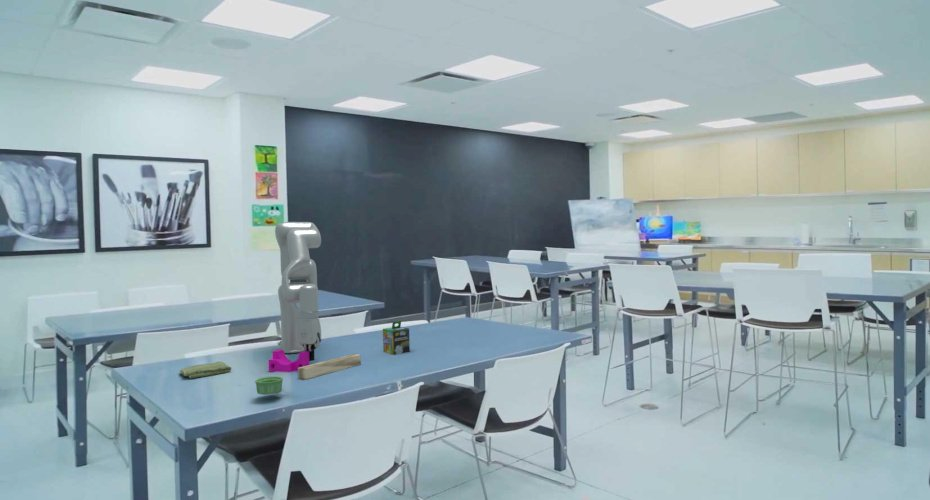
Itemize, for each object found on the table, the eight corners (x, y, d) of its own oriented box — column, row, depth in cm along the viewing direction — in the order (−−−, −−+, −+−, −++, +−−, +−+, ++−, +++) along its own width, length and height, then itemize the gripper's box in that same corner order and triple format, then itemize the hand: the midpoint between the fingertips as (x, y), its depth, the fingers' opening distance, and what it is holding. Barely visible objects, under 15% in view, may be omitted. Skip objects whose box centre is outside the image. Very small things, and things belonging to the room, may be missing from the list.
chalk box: (399, 350, 267) (398, 319, 267) (410, 353, 260) (409, 320, 260) (382, 353, 261) (381, 321, 261) (393, 356, 254) (392, 322, 254)
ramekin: (266, 388, 202) (266, 375, 202) (288, 389, 199) (288, 376, 199) (249, 394, 193) (249, 381, 193) (272, 396, 190) (272, 382, 190)
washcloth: (177, 374, 229) (177, 366, 229) (223, 367, 240) (223, 360, 240) (185, 380, 218) (184, 371, 218) (232, 372, 229) (232, 364, 229)
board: (298, 378, 215) (297, 367, 214) (353, 363, 240) (353, 353, 240) (305, 379, 212) (305, 369, 212) (360, 364, 238) (360, 354, 238)
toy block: (268, 371, 229) (268, 352, 229) (278, 367, 235) (278, 349, 235) (300, 373, 225) (299, 354, 224) (309, 369, 230) (309, 351, 230)
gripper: (289, 315, 233) (290, 360, 233) (315, 317, 225) (316, 364, 225) (303, 313, 239) (304, 357, 239) (328, 315, 231) (330, 360, 231)
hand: (310, 360), depth 232 cm, fingers closed
